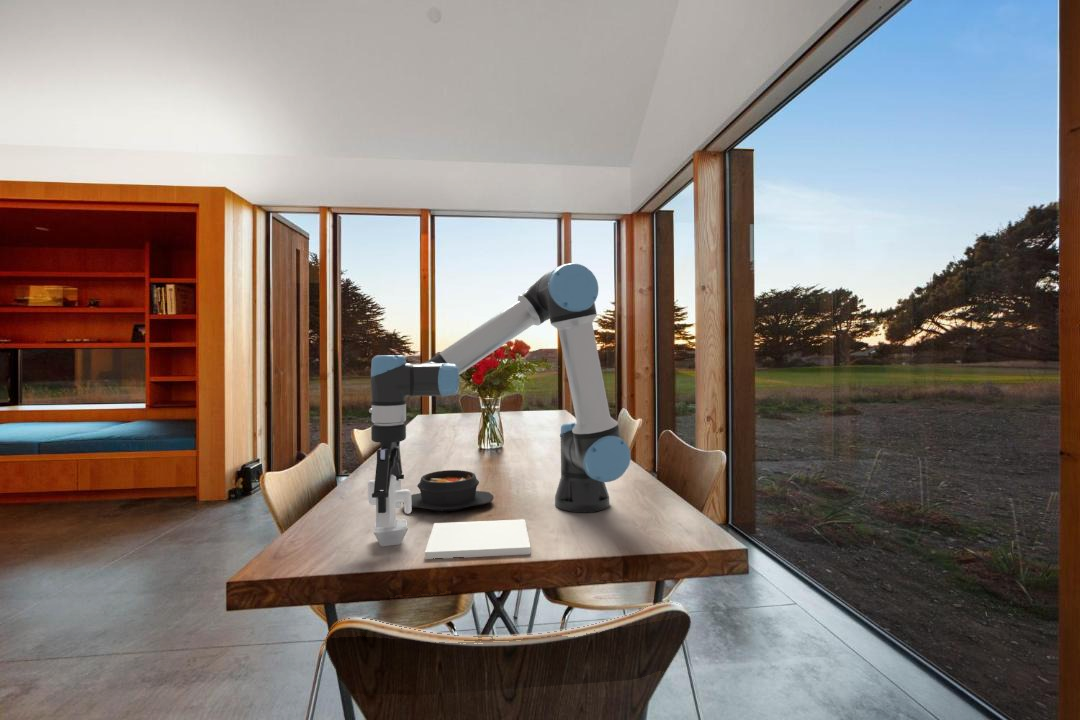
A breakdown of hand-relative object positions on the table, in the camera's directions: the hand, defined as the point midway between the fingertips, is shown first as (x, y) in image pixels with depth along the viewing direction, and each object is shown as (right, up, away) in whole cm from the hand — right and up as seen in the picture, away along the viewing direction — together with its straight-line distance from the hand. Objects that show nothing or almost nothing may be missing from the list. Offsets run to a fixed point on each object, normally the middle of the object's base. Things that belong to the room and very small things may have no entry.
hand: (389, 516), depth 117 cm
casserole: (+9, -5, +27) cm, 29 cm away
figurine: (0, -6, 0) cm, 6 cm away
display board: (+20, -6, 0) cm, 21 cm away
